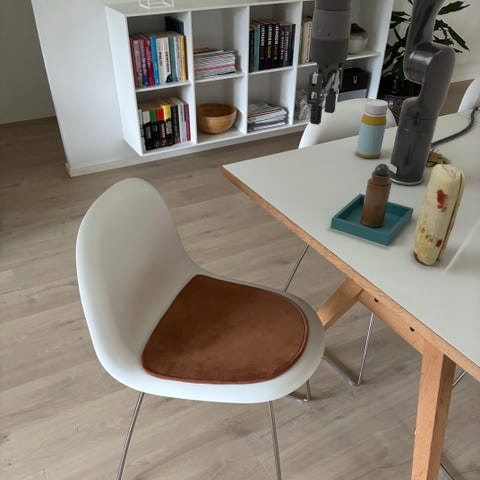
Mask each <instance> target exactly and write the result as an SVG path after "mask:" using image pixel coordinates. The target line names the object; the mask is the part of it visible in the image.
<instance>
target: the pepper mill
mask: <svg viewBox="0 0 480 480" xmlns="http://www.w3.org/2000/svg"><path fill="white" fill-rule="evenodd" d="M390 176H391V174H390V173H389V167H388V164H386V163H380V164H378V165H377V166H376V167H375V169H374V170H373V171H372V172H371V177H370V178H368V179H367V183H366V189H365V193H364V195H365V199H364V204H363V210H362V215H361V217H360V224H361V225H362V226H365V227H368V228H371V229H378V228H381V227H383V226H384V222H385V221H384V218H385V213H386V209H387V204H388V202H389V199H390V194H391V191H392V185H393V182H392V181H390Z"/></svg>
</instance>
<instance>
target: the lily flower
mask: <svg viewBox="0 0 480 480" xmlns="http://www.w3.org/2000/svg"><path fill="white" fill-rule="evenodd" d="M432 147H433V148H432ZM430 148H431V150H430V151H429V155H428V159H427V163H426V166H427V167H430V166H432V165H434V164H435V163H437V164H443V165H444V163H443V162H452V160H450V159H448V158H446V157H443V156H444V154H442V153H438V152H439V151H440V149H437V148H438V145H435V146H431V147H430ZM435 150H436V151H435Z"/></svg>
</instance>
